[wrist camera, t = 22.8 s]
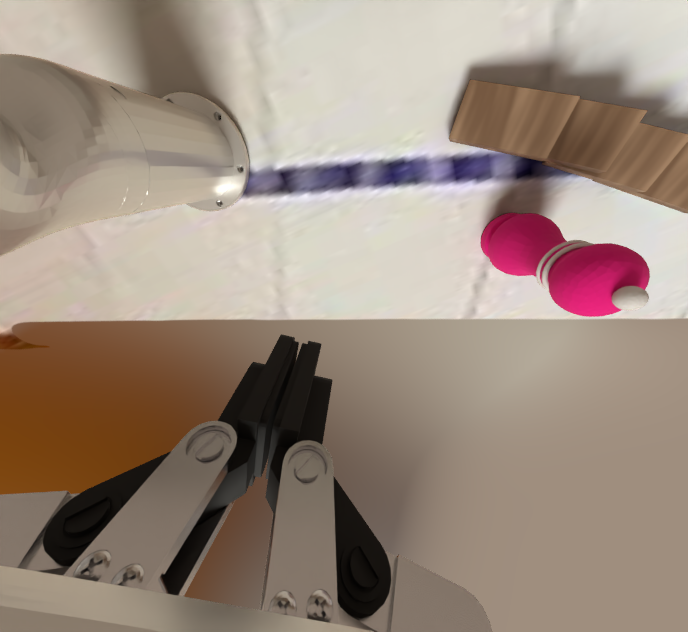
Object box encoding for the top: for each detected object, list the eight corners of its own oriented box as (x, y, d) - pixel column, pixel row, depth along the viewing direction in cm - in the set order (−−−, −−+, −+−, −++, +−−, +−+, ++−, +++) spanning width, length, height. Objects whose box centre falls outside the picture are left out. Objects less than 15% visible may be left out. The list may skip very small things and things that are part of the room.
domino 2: (503, 147, 28) (606, 171, 26) (531, 90, 26) (647, 110, 23) (502, 150, 30) (598, 173, 27) (527, 97, 27) (635, 116, 25)
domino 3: (546, 161, 29) (645, 191, 27) (579, 107, 26) (692, 135, 24) (541, 164, 30) (635, 192, 28) (572, 113, 28) (677, 140, 26)
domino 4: (599, 179, 29) (699, 213, 27) (639, 127, 26) (753, 161, 24) (592, 180, 31) (685, 213, 29) (629, 132, 28) (734, 164, 26)
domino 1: (448, 137, 28) (546, 158, 26) (470, 79, 26) (580, 96, 23) (449, 141, 30) (541, 161, 27) (470, 86, 27) (573, 103, 25)
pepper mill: (468, 258, 37) (559, 338, 19) (489, 204, 33) (625, 243, 16) (517, 266, 37) (653, 352, 19) (544, 213, 33) (740, 261, 16)
